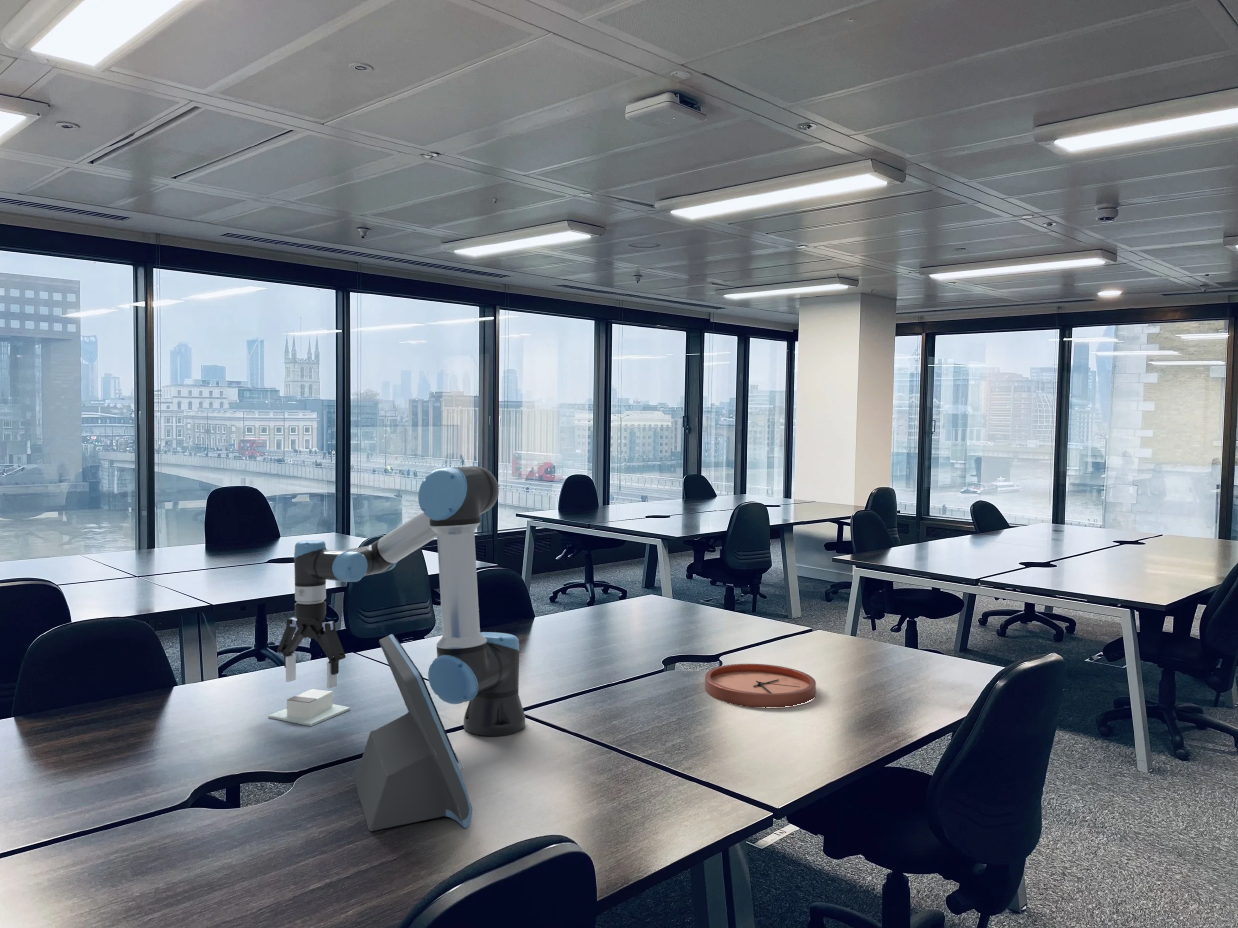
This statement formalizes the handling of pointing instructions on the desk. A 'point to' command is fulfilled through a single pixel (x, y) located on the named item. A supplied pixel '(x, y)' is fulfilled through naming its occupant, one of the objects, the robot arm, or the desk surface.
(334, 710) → the mat
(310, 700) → the card deck box
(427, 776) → the touchscreen device
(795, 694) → the clock
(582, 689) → the desk surface
